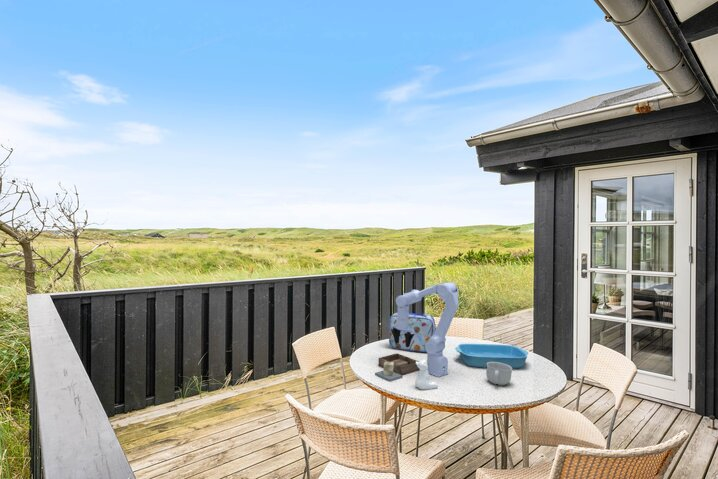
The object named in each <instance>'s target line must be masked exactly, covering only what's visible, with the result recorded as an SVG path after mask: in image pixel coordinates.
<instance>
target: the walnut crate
mask: <svg viewBox="0 0 718 479" xmlns="http://www.w3.org/2000/svg"><path fill="white" fill-rule="evenodd" d="M416 361H417V362H419V361H420V360H417V359H414V358H411V357H410V356H409V357H408V356H405V355H402V354H400V353H398V352H397V353H393V354H389V355H386V356H380V357H378V367H380V368H381V369H384V363H385V362H394V372H395V373H397V374H400V375H402V376H404V375H408V374H412V373H414V372H415V373H416V372H419V371H420V369H419V368H418V367H417V365H416Z"/></svg>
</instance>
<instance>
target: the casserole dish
mask: <svg viewBox="0 0 718 479" xmlns="http://www.w3.org/2000/svg"><path fill="white" fill-rule="evenodd" d="M454 349H455V351H456V353H459V356H460V358H461V359H462V360H463V362H464V363H465V364H466V365H468V366H469V367H472V366H473V368H483V367H487V363H488V362H499V363H503V364H507V365H509V366H511V367H512V369H520V368H521V367H523V366H524V365H525V363H526V361H527V357H528V355H529V352H528V351H527V350H526V349H523V348H519V347H517V346H515V345H510V344H491V343H460V344H458V345H457V346H456V347H455V348H454Z"/></svg>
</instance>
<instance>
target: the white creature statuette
mask: <svg viewBox="0 0 718 479" xmlns="http://www.w3.org/2000/svg"><path fill="white" fill-rule="evenodd" d="M417 361H419V362H417ZM417 361H416V365H417V367H418V368H419V369H420V370H419V371H417V377H416V379H415V386H416V388H417V389H420V390H421V389H422V391H425V390H433V389H434V390H435V389H437V388H439V384H438V383H437V382H435V381H432V382H431V381H430V379H429V378H430V376H431V374H429V373H428V370H427V369H428V365H427V361H426V360H425V359H420V360H417Z"/></svg>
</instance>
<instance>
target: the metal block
mask: <svg viewBox="0 0 718 479" xmlns="http://www.w3.org/2000/svg"><path fill="white" fill-rule="evenodd" d="M383 370H384V375H387V376H393V372H394V362H385V363H384V368H383Z"/></svg>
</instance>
